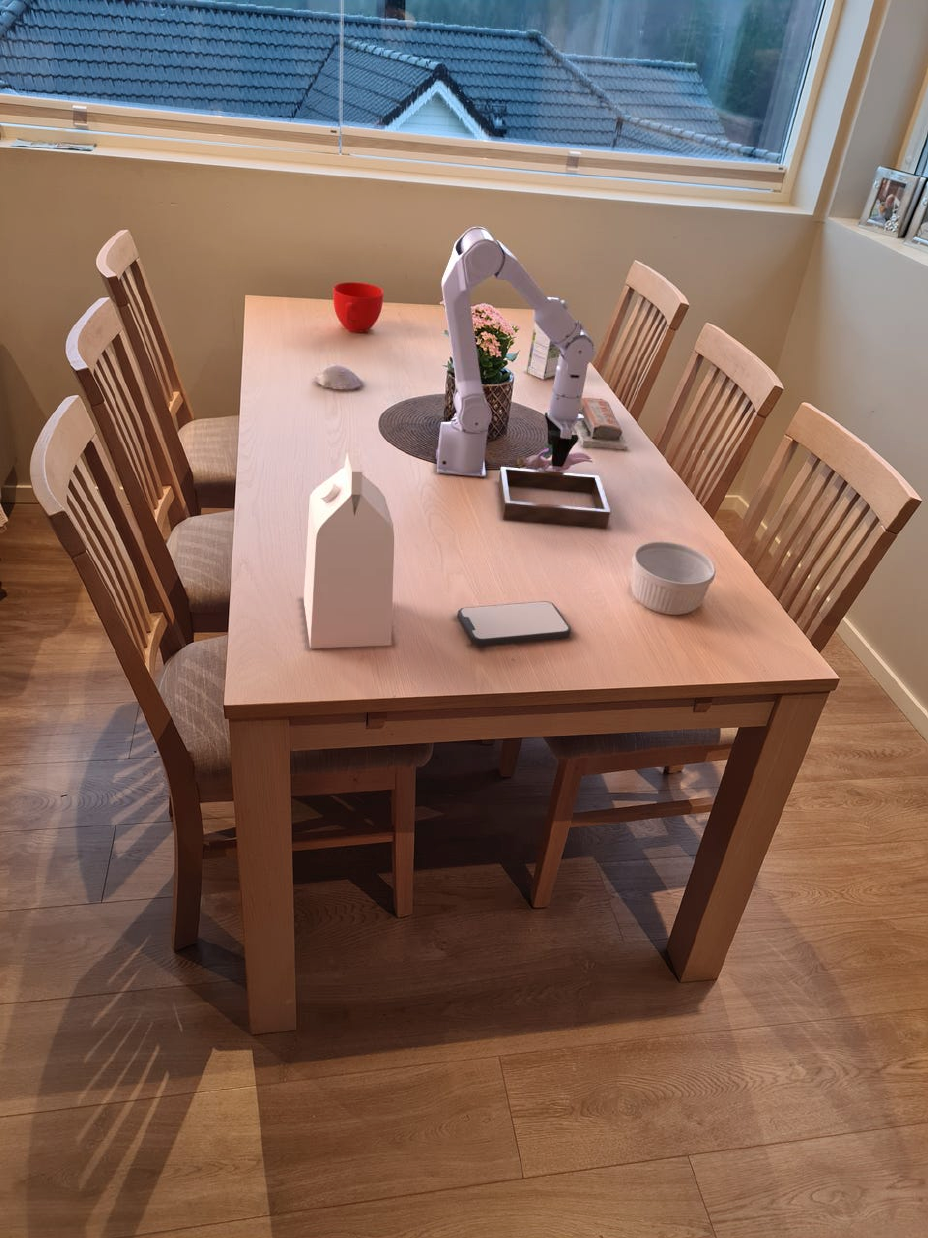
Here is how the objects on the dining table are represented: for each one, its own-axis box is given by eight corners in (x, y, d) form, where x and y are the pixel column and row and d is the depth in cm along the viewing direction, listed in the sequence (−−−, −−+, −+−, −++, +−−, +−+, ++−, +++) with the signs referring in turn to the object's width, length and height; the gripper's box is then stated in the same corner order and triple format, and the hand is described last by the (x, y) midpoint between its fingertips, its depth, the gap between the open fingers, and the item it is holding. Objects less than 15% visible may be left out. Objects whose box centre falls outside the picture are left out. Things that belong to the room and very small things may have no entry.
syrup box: (540, 368, 238) (549, 311, 229) (558, 376, 234) (568, 318, 226) (525, 372, 234) (534, 314, 226) (543, 380, 231) (553, 321, 223)
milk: (391, 645, 135) (404, 482, 120) (310, 648, 132) (314, 482, 117) (379, 598, 144) (390, 442, 130) (303, 600, 142) (306, 441, 127)
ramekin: (610, 581, 156) (618, 545, 152) (675, 571, 161) (685, 536, 157) (653, 626, 147) (663, 588, 143) (721, 614, 152) (732, 577, 148)
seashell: (304, 369, 210) (332, 349, 216) (307, 390, 214) (335, 371, 220) (340, 381, 206) (367, 361, 212) (342, 402, 210) (369, 382, 216)
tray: (502, 520, 169) (505, 502, 167) (497, 482, 182) (500, 466, 180) (607, 529, 171) (610, 512, 169) (595, 491, 183) (599, 475, 181)
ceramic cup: (321, 336, 239) (322, 296, 233) (339, 317, 253) (340, 279, 247) (371, 344, 238) (373, 304, 233) (386, 324, 252) (388, 286, 246)
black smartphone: (549, 607, 148) (454, 615, 143) (551, 599, 147) (455, 607, 142) (572, 640, 141) (473, 650, 136) (574, 632, 140) (474, 641, 135)
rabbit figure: (520, 481, 186) (595, 474, 187) (520, 454, 183) (596, 447, 183) (516, 467, 191) (588, 460, 192) (515, 440, 188) (589, 433, 189)
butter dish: (571, 393, 212) (614, 397, 213) (567, 414, 215) (610, 417, 216) (585, 426, 197) (631, 430, 198) (581, 447, 200) (626, 451, 201)
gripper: (593, 409, 174) (579, 475, 181) (583, 380, 186) (570, 444, 193) (555, 405, 173) (543, 472, 181) (548, 377, 185) (536, 440, 193)
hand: (555, 457), depth 187 cm, fingers open, 7 cm apart
